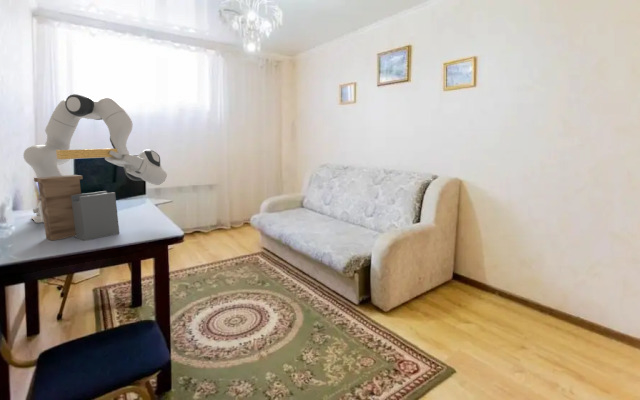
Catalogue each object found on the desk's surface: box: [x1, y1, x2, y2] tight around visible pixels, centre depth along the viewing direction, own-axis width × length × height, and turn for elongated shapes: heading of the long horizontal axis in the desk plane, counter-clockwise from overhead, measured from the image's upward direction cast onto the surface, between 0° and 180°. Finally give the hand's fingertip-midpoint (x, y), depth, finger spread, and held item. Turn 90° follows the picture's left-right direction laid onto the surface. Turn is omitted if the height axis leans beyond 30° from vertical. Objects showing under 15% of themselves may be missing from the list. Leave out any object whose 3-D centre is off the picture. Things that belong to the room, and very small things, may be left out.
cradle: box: [71, 190, 120, 241], centre depth 152 cm, size 8×14×18 cm, turn 148°
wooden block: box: [56, 148, 118, 160], centre depth 148 cm, size 22×4×4 cm, turn 147°
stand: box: [33, 174, 84, 241], centre depth 151 cm, size 7×15×26 cm, turn 147°
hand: (106, 151), depth 154 cm, fingers closed on wooden block, 3 cm apart
